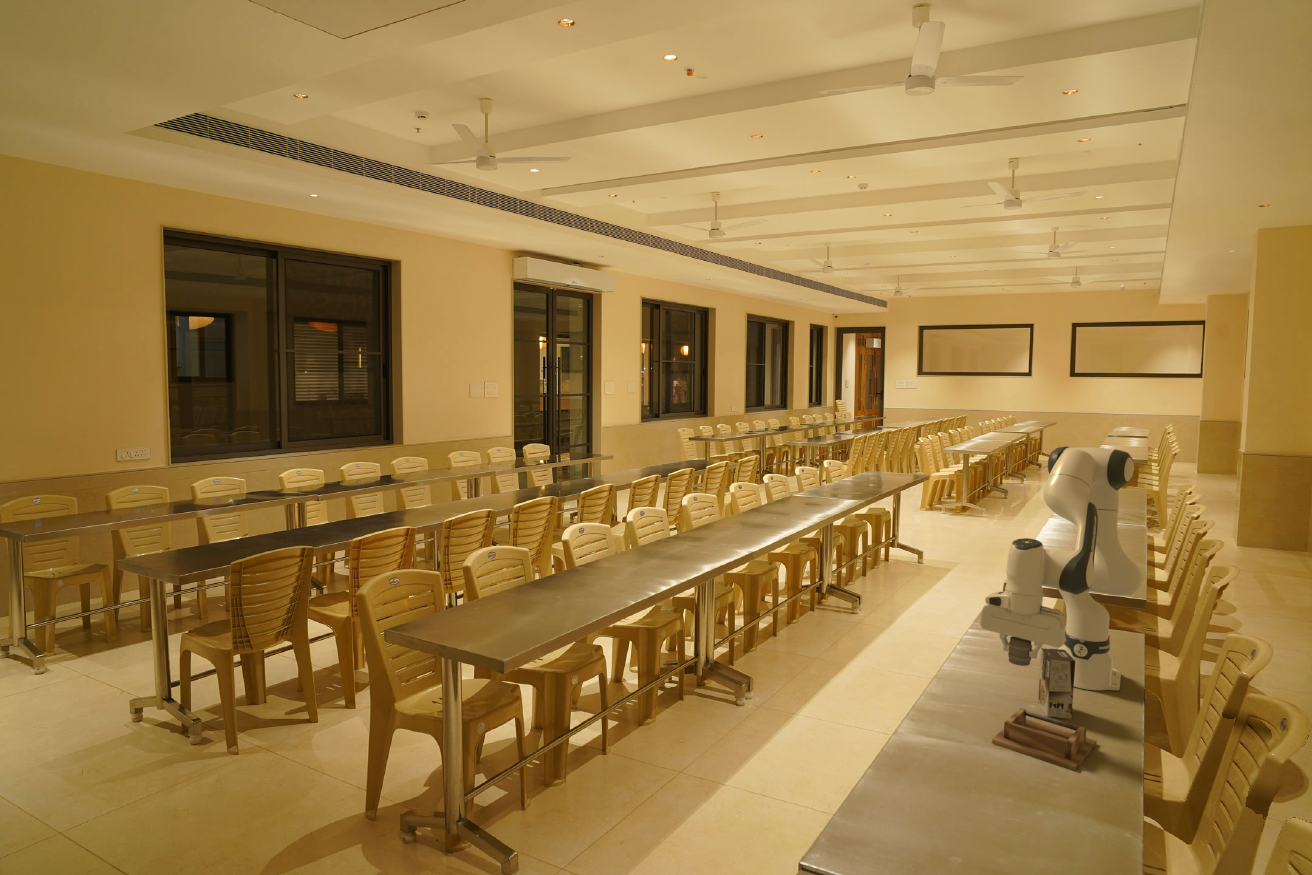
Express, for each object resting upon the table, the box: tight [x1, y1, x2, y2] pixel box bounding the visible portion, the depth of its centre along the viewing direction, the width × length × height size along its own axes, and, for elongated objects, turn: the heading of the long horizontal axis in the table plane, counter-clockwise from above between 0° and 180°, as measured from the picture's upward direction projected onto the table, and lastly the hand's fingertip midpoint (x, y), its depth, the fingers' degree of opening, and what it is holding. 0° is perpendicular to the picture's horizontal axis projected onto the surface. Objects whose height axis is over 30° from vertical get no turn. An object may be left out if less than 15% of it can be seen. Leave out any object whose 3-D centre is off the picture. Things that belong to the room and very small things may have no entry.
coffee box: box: [1037, 647, 1076, 720], centre depth 210 cm, size 9×6×16 cm
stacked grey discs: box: [1007, 636, 1033, 667], centre depth 200 cm, size 5×5×6 cm
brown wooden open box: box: [991, 708, 1097, 772], centre depth 192 cm, size 18×19×5 cm
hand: (1020, 654), depth 200 cm, fingers closed on stacked grey discs, 5 cm apart
